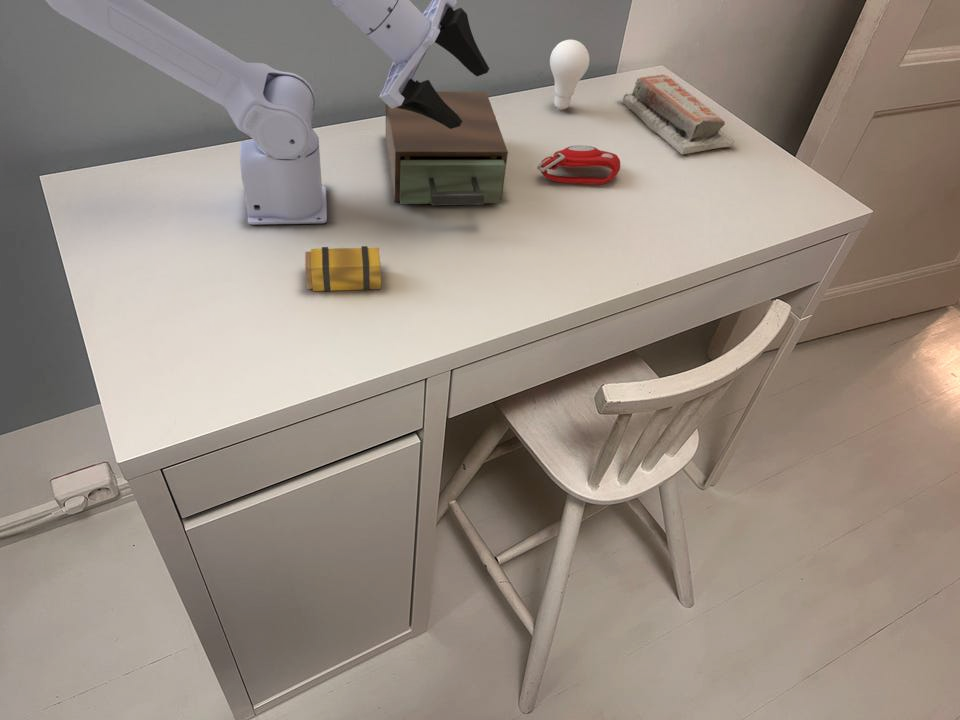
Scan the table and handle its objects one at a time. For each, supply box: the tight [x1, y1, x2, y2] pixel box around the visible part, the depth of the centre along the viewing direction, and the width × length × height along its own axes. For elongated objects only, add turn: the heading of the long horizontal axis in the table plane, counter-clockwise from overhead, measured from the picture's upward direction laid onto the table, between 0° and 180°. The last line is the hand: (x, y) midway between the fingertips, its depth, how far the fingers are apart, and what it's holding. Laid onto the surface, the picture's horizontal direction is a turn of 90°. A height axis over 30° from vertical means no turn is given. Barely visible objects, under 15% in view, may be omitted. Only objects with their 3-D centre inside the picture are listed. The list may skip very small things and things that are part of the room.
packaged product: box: [622, 74, 735, 155], centre depth 117 cm, size 18×5×10 cm
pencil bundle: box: [304, 245, 382, 292], centre depth 82 cm, size 8×4×4 cm, turn 100°
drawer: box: [399, 156, 505, 206], centre depth 97 cm, size 20×13×6 cm, turn 10°
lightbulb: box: [549, 39, 590, 111], centre depth 115 cm, size 6×6×11 cm
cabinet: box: [385, 91, 509, 203], centre depth 100 cm, size 16×14×7 cm
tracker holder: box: [536, 145, 621, 185], centre depth 103 cm, size 12×4×10 cm
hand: (469, 98), depth 85 cm, fingers open, 7 cm apart
